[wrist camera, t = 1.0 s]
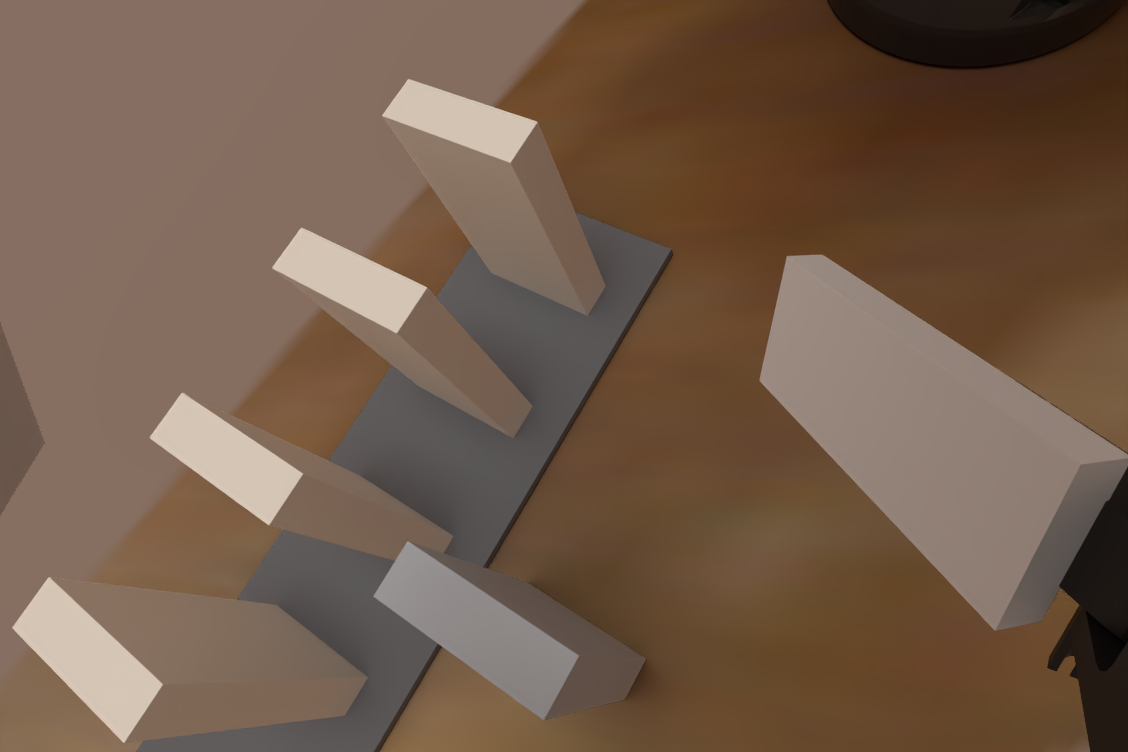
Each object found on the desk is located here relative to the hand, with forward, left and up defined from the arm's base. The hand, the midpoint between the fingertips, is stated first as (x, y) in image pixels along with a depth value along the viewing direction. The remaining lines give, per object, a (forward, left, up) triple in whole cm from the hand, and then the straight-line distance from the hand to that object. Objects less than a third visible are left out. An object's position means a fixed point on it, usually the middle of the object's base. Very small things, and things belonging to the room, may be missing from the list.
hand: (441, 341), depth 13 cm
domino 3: (+5, -10, -20) cm, 23 cm away
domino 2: (-2, -10, -20) cm, 23 cm away
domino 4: (+12, -10, -20) cm, 26 cm away
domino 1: (-9, -10, -20) cm, 24 cm away
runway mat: (+6, -10, -21) cm, 24 cm away
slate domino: (+5, 0, -21) cm, 22 cm away
